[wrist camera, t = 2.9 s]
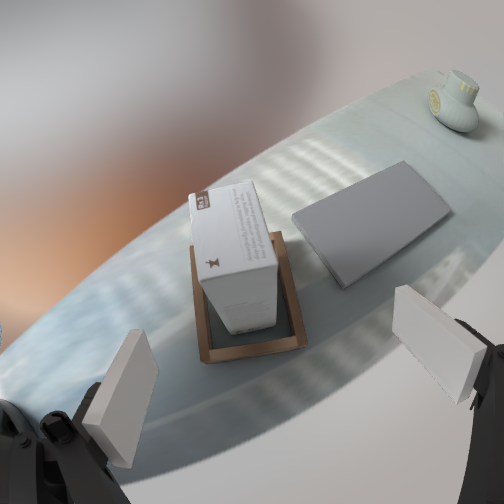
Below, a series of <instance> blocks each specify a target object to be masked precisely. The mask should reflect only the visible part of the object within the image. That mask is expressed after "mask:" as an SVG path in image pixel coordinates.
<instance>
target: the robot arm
mask: <svg viewBox="0 0 504 504" xmlns="http://www.w3.org/2000/svg"><path fill="white" fill-rule="evenodd" d="M392 332H393V333H394V334H395V335H396V336H397V337H398V338H399V340H400V341H401V342H402V343H403V344H404V345H405V346H406V347H407V348H408V349H409V351H410V352H411V353H412V354H413V355H414V356H415V357H416V358H417V359H418V361H419V362H420V363H421V364H422V365H423V366H424V367H425V369H426V370H427V371H428V372H429V373H430V374H431V375H432V377H433V378H434V379H435V380H436V381H437V382H438V383H439V384H440V386H441V387H442V388H443V389H444V390H445V392H446V393H447V394H448V395H449V396H450V397H451V399H452V400H453V401H454V402H455V403H456V404H458V403H460V402H462V401H463V400H466V399H467V398H469V396H470V394H471V391H472V389H473V388H474V389H475V390H476V391H477V393H476V396H475V398H474V400H473V402H472V405H471V407H470V410H472V408H473V406H474V418H473V427H472V435H471V443H470V449H469V455H468V461H467V467H466V471H465V476H464V480H463V485H462V488H461V492H460V496H459V500H458V503H457V504H504V344H500V345H497V346H495V345H494V344H492V343H491V342H490V341H489V340H487V339H486V338H485V337H483V336H482V335H481V334H480V333H479V332H478V333H477V331H476V330H475V329H473V328H472V327H471V326H470V325H468V324H467V323H466V322H464V321H461V320H458V319H452V318H451V317H450V316H448V315H447V314H446V313H444V312H443V311H442V310H441V309H439V308H438V307H437V306H435V305H434V304H433V303H431V302H430V301H429V300H427V299H426V298H425V297H423V296H422V295H420V294H419V293H418V292H416V291H415V290H414V289H412V288H411V287H409V286H408V285H403V286H399V287H395V299H394V312H393V323H392ZM1 340H2V330H1V324H0V346H1ZM158 373H159V370H158V367H157V365H156V362H155V360H154V357H153V354H152V352H151V349H150V346H149V343H148V340H147V337H146V335H145V332H144V329H137V330H130V331H129V333H128V335H127V337H126V339H125V340H124V342H123V344H122V346H121V347H120V349H119V351H118V353H117V355H116V357H115V358H114V360H113V362H112V364H111V366H110V368H109V370H108V371H107V373H106V375H105V377H104V379H103V381H102V383H101V382H96V383H95V384H93V385H92V386H91V387H90V388H89V389H88V391H87V393H86V394H85V396H84V399H83V400H82V402H81V405H80V406H79V407H78V409H77V411H76V413H75V415H74V417H73V419H72V421H71V420H70V418H69V417H68V415H67V414H66V413H65V412H63V411H53V412H50V413H49V414H47V415H45V417H44V418H43V419H42V420H41V422H40V429H41V431H42V432H43V433H44V434H45V436H46V437H47V439H38V438H37V436H36V434H35V432H34V430H33V428H32V427H31V425H30V424H29V422H28V421H27V419H26V418H25V417H24V416H23V414H22V413H21V412H20V411H19V410H18V409H17V408H16V407H15V406H13V405H12V404H11V403H9V402H7V401H5V400H2V399H0V504H131V503H130V501H129V500H128V498H127V497H126V496H125V494H124V493H123V491H122V489H121V488H120V486H119V485H118V483H117V482H116V480H115V478H114V477H113V475H112V473H111V472H110V470H109V469H108V468H107V467H106V465H107V461H108V459H109V460H110V462H111V463H112V464H113V465H114V466H115V467H120V468H129V469H132V465H133V461H134V457H135V453H136V449H137V446H138V442H139V438H140V434H141V431H142V427H143V424H144V420H145V416H146V413H147V410H148V406H149V403H150V399H151V396H152V393H153V389H154V386H155V383H156V379H157V376H158Z"/></svg>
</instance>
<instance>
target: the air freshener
mask: <svg viewBox="0 0 504 504" xmlns="http://www.w3.org/2000/svg"><path fill="white" fill-rule="evenodd" d="M478 90H479V86H478V84H477V83H476V82H475V81H474V80H473V79H472V78H470V77H469V76H467V75H466V74H464V73H462V72H460V71H457V70H451V71H450V73H449V76H448V79H447V81H446V84H445V86H436V87H433V88H431V89H430V91H429V96H428V101H429V107H430V110H431V112H432V113H433V115H434V116H435V117H436V118H437V119H438V120H439V121H440V122H441V123H443V124H444V125H445V126H447V127H449V128H451V129H453V130H456V131H459V132H471V131H473V130H475V129H476V128H477V126H478V122H479V118H478V113H477V110H476V108H475V106H474V104H473V103H474V100H475V98H476V96H477V93H478Z"/></svg>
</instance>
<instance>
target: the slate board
mask: <svg viewBox="0 0 504 504" xmlns="http://www.w3.org/2000/svg"><path fill="white" fill-rule="evenodd" d="M450 211H451V210H450V208H449V207H448V206H447V205H446V204H445V203H444V202H443V200H442V199H441V198H440V197H439V196H438V195H437V194H436V193H435V192H434V191H433V189H432V188H431V187H430V186H429V185H428V184H427V183H426V182H425V181H424V180H423V179H422V178H421V177H420V176H419V175H418V174H417V173H416V172H415V171H414V170H413V169H412V168H411V167H410V166H409V165H408V164H407V163H406V162H405V161H402V162H399V163H397V164H395V165H393V166H391V167H389V168H387V169H385V170H383V171H380V172H378V173H376V174H374V175H372V176H370V177H368V178H366V179H364V180H362V181H359V182H357V183H355V184H353V185H351V186H349V187H347V188H345V189H343V190H341V191H339V192H337V193H335V194H333V195H330V196H328V197H326V198H324V199H322V200H320V201H318V202H316V203H314V204H312V205H310V206H308V207H306V208H304V209H302V210H300V211H298V212H296V213H294V214H292V221H293V222H294V224H295V225H296V226H297V228H298V229H299V230H300V232H301V233H302V234H303V236H304V237H305V238H306V240H307V241H308V242H309V244H310V245H311V246H312V248H313V249H314V250H315V252H316V253H317V254H318V256H319V257H320V258H321V260H322V261H323V262H324V264H325V265H326V267H327V268H328V269H329V271H330V272H331V273H332V275H333V276H334V278H335V279H336V280H337V282H338V283H339V284H340V286H341V287H342V289H345V288H346V287H348V286H349V285H351V284H352V283H354V282H355V281H357V280H359V279H360V278H362V277H363V276H364V275H366V274H367V273H369V272H370V271H372V270H373V269H375V268H376V267H378V266H379V265H381V264H382V263H383V262H385V261H386V260H388V259H389V258H391V257H392V256H393V255H395V254H396V253H398V252H399V251H400V250H402V249H403V248H405V247H406V246H407V245H409V244H410V243H411V242H413V241H414V240H415V239H417V238H418V237H419V236H421V235H422V234H423V233H425V232H426V231H427V230H429V229H430V228H431V227H433V226H434V225H435V224H437V223H438V222H439V221H440V220H442V219H443V218H444V217H445V216H447V215H448V214H449V212H450Z"/></svg>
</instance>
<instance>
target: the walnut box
mask: <svg viewBox="0 0 504 504" xmlns="http://www.w3.org/2000/svg"><path fill="white" fill-rule="evenodd" d="M269 235H270V239H271V242H272V245H273V248H274V252H275V255H276V258H277V261H278V271H279V275H280V280H281V284H282V289H283V293H284V298H285V302H286V307H287V312H288V316H289V321H290V326H291V331H292V335H293V336H292V337H287V338H282V339H276V340H271V341H265V342H259V343H254V344H247V345H241V346H235V347H228V348H221V349H214V350H213V347H212V340H211V332H210V324H209V315H208V307H207V298H206V293H205V292H204V290H203V288H202V287H201V285H200V283H199V281H198V274H197V268H196V260H195V253H194V245H193V246H190V258H191V272H192V284H193V295H194V306H195V316H196V326H197V335H198V344H199V352H200V360H201V361H202V362H203V363H205V364H207V363H215V362H223V361H230V360H237V359H243V358H250V357H256V356H262V355H267V354H273V353H278V352H284V351H289V350H294V349H299V348H303V347H305V346H306V345H307V338H306V334H305V329H304V325H303V320H302V316H301V311H300V307H299V303H298V299H297V294H296V290H295V286H294V282H293V277H292V273H291V269H290V265H289V261H288V257H287V253H286V249H285V245H284V241H283V237H282V233H281V231H277V232H271V233H269Z"/></svg>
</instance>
